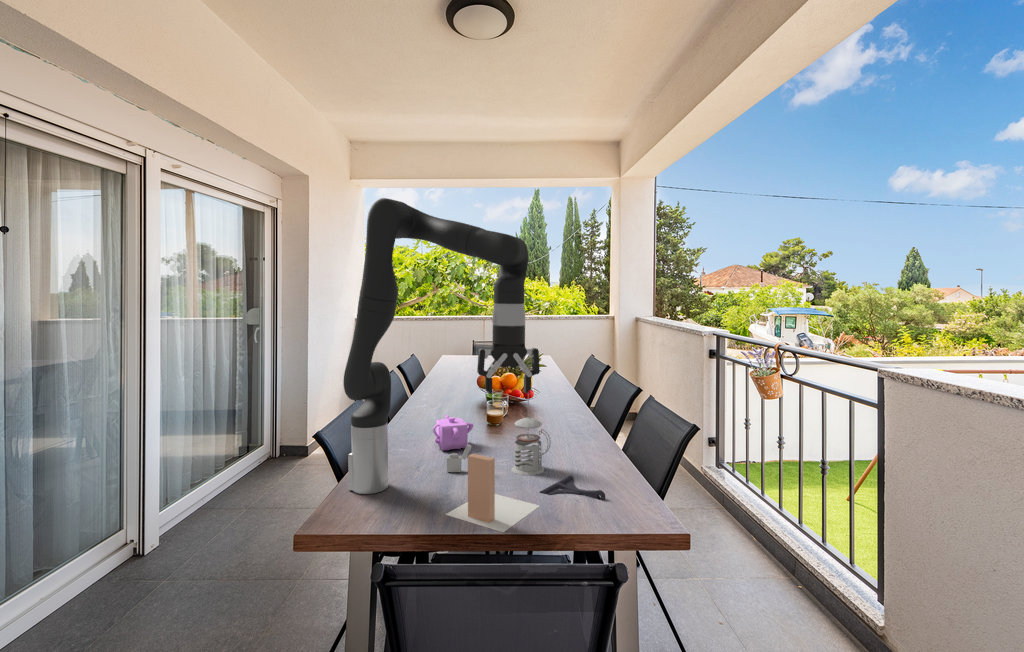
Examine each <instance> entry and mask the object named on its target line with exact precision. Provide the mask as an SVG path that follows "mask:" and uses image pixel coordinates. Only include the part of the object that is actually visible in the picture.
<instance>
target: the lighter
mask: <svg viewBox="0 0 1024 652" xmlns="http://www.w3.org/2000/svg"><path fill="white" fill-rule="evenodd" d="M471 448H472V445H471V444H469V443H468V444H467V446H466V448H464V450H463V452H462V455H459V456H458V454H459V453H458V452H457V453H456V452H455V453H454V452H453V453H449V455H447V457H446V473H447V472H461V473H462V467H463V465H462V463H463V462H462V460H466V459H467V458H468V456H469V453H470V451H471Z"/></svg>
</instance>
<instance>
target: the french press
mask: <svg viewBox="0 0 1024 652" xmlns="http://www.w3.org/2000/svg"><path fill="white" fill-rule="evenodd" d="M531 390H532V387H531ZM529 394H530V393H527V417H524V418H521V419H517V420H516V421H515V422H514V423H513V424H514V426H515V427H516V428H519V429H527V430H529V429H531V430H532V429H538V428H540V427H541V426H542V425H543V423H542V422H541V421H540V420H539V419H537V418H533V417H529V415H530V414H529V412H530V411H529V409H530V407H529V401H530V399H529V397H530V395H529ZM542 434H543V435H544V436H545V438H546V441H547V446H546V449H545V451H544V452H543V453H542V441H541V440H540V439H541V435H542ZM515 437H516V438H515V439H516V440H515V443H514V465H513V467H511V472H512V471H513V473H514V472H515V473H514V474H516V473H517V475H519V474H520V476H527V475H529V476H537V475H536V474H538V475H541V474H543V473H544V472H545V471H544V469H545V468H544V467H543V466H542V463H543V461H542V460H543V459H542V458H543V457H542V456H543V455H545V454H547V453H548V452H549V450H550V447H551V444H549V443H551V441H552V440H551V437H550V435H549V433H548V432H547V431H546V430H545V429H543V428H541V429H540V430H539V431H538V434H534V433H524V434H523V433H520V434H518V435H516V436H515ZM527 450H528V451H527ZM522 455H523V456H522ZM524 459H525V460H524Z"/></svg>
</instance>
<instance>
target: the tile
mask: <svg viewBox="0 0 1024 652" xmlns="http://www.w3.org/2000/svg"><path fill="white" fill-rule="evenodd" d="M495 459H496V458H495V457H491V456H490V457H489V456H486V455H481V454H476V453H471V454H468V455H467V502H468V517H472V518H475V519H478V520H482V521H485V522H488V523H490V522H492V521H493V520H495V494H496V493H495V491H496V489H495V485H496V483H495V478H496V477H495V473H496V472H495V469H496V466H495V464H496V463H495V461H496V460H495Z"/></svg>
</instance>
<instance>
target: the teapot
mask: <svg viewBox="0 0 1024 652" xmlns="http://www.w3.org/2000/svg"><path fill="white" fill-rule="evenodd" d="M444 417H445V418H440V419H436V424H435V425H434V426H433V427H432V432H433V434H434V436H435V438H434V442H435V443H436V444H437V445H438V446H439V448H440V449H441V451H444V450H448V451H449V450H462V449H461V448H463V449H465V448H466V446H467V444H469V442H468V434H470V432H471V431H472V430H473V429H474V423H472V422H465V420H464V419H462V418H461V417H455V416H451V417H450V416H449V414H445V416H444Z"/></svg>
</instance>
